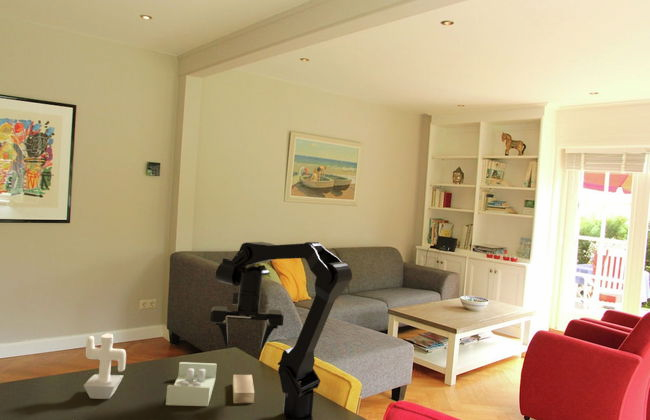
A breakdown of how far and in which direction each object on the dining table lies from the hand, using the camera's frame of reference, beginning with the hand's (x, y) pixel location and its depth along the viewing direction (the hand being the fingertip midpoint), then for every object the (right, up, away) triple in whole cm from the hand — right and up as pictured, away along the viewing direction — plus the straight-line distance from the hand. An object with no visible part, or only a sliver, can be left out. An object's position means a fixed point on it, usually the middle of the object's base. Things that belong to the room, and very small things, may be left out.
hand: (244, 347), depth 125 cm
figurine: (-34, -10, -8) cm, 36 cm away
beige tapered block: (0, -12, 0) cm, 12 cm away
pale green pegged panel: (-13, -11, -1) cm, 17 cm away
